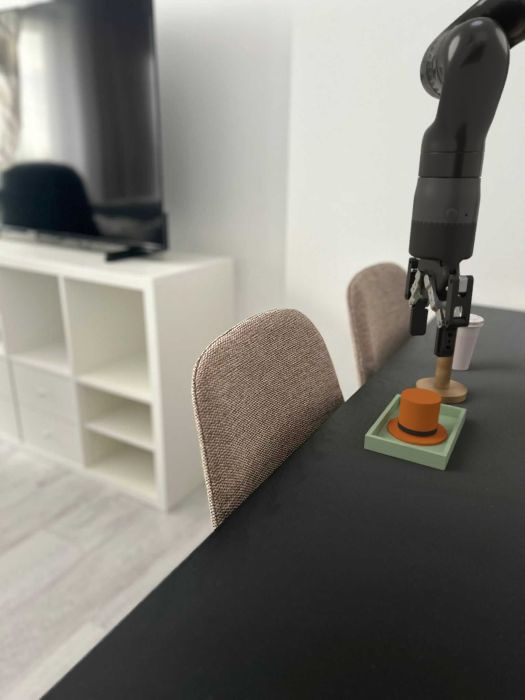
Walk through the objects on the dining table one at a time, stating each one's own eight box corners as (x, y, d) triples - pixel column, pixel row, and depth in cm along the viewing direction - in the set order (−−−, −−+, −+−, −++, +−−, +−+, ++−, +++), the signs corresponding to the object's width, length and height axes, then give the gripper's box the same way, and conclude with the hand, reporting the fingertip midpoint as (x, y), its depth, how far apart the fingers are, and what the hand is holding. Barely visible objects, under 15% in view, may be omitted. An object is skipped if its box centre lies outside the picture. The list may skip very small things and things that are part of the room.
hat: (432, 417, 75) (437, 383, 73) (457, 444, 67) (463, 407, 66) (379, 418, 74) (382, 384, 72) (398, 447, 67) (403, 409, 65)
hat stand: (452, 383, 88) (467, 288, 83) (475, 403, 81) (492, 300, 75) (408, 384, 88) (419, 289, 82) (426, 404, 80) (440, 301, 75)
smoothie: (443, 358, 100) (454, 288, 95) (478, 365, 97) (490, 292, 92) (436, 368, 95) (446, 294, 90) (472, 375, 92) (485, 299, 87)
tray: (395, 405, 80) (397, 393, 79) (464, 421, 75) (466, 408, 74) (363, 448, 67) (365, 435, 66) (444, 470, 62) (446, 456, 62)
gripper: (506, 223, 55) (483, 363, 60) (448, 212, 68) (434, 328, 74) (438, 223, 54) (422, 365, 60) (393, 212, 68) (383, 329, 73)
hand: (429, 344), depth 67 cm, fingers open, 8 cm apart
